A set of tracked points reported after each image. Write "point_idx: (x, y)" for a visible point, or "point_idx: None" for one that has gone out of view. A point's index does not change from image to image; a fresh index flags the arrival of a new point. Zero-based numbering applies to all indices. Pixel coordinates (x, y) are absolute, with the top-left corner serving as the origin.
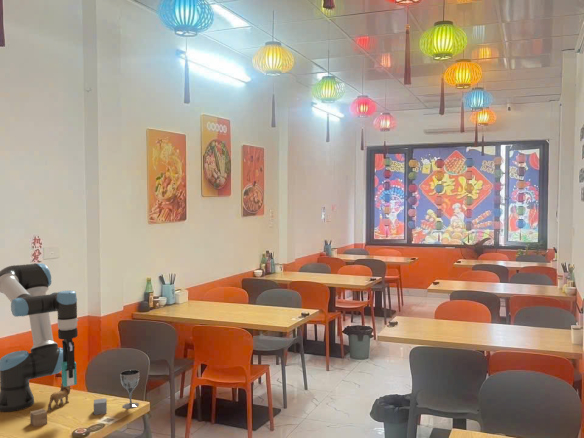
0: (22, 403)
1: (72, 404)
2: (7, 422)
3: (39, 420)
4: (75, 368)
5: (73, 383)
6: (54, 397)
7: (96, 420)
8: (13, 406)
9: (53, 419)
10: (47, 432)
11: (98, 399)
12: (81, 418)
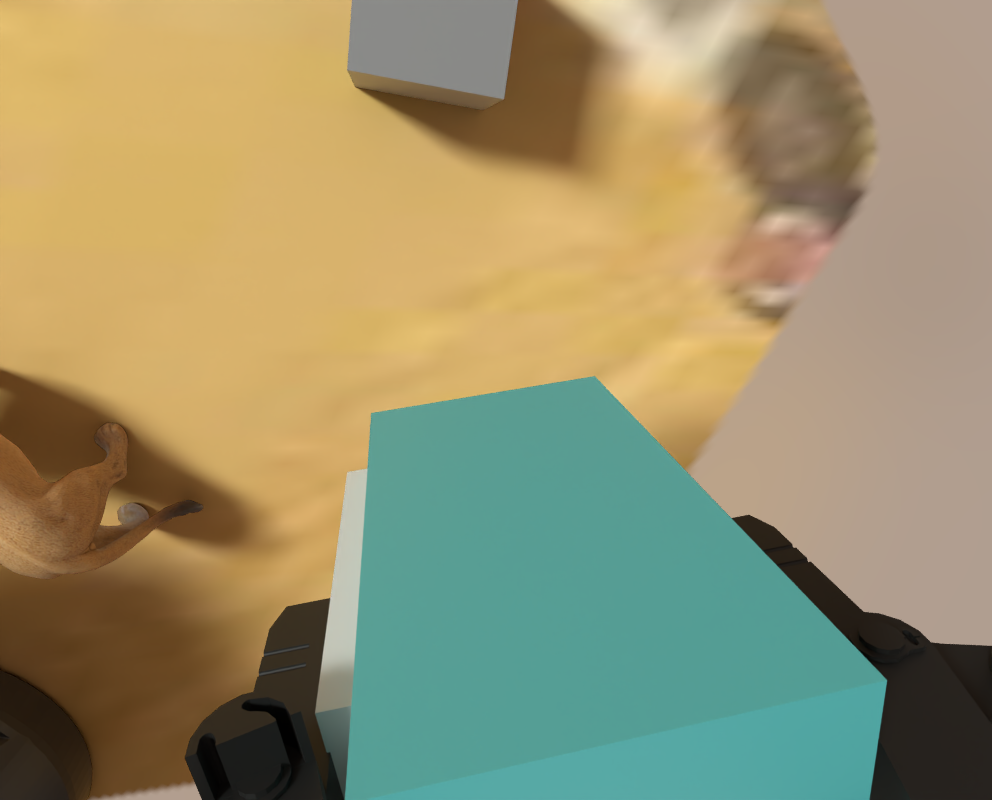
0: (32, 752)
1: (46, 308)
2: None
3: None
4: (759, 570)
5: None
6: (91, 532)
7: (639, 102)
8: (71, 795)
9: None
10: None
11: (364, 9)
12: (513, 239)
